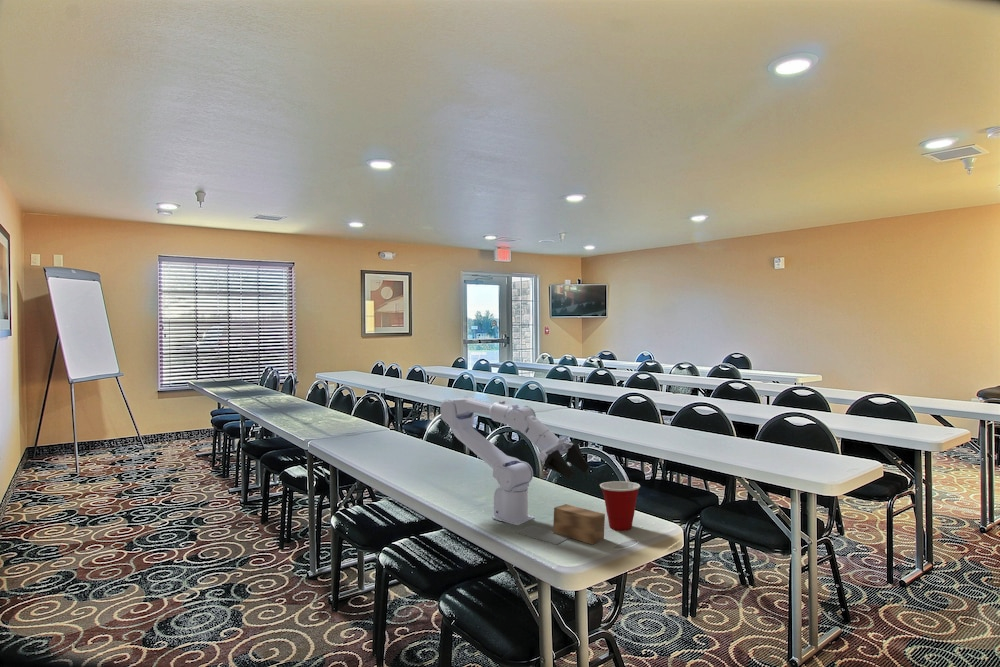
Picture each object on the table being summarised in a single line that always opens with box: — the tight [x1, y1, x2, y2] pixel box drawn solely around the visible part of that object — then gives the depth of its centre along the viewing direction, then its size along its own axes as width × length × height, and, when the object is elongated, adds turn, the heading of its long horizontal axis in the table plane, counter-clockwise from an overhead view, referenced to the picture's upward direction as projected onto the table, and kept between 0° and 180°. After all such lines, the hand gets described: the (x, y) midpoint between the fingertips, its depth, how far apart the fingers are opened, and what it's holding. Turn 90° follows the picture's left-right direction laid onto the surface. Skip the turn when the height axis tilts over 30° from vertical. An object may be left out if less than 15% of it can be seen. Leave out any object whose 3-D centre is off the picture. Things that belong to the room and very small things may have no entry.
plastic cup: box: [599, 480, 641, 532], centre depth 151 cm, size 11×11×12 cm
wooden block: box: [552, 503, 606, 545], centre depth 144 cm, size 12×6×6 cm, turn 50°
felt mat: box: [515, 524, 570, 546], centre depth 145 cm, size 13×7×1 cm, turn 50°
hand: (579, 472), depth 144 cm, fingers open, 7 cm apart
